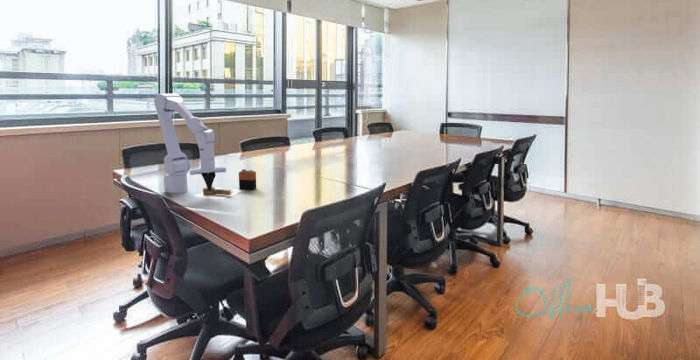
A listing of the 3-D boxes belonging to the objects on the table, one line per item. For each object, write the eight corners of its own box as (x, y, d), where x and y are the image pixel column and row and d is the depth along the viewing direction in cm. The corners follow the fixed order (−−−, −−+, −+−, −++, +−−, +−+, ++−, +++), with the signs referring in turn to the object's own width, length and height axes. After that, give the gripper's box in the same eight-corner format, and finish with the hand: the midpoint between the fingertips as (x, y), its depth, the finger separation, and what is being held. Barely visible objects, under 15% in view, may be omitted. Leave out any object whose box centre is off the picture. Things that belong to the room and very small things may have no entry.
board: (192, 198, 184) (192, 195, 184) (216, 189, 200) (216, 187, 200) (223, 201, 180) (222, 198, 180) (244, 192, 196) (244, 189, 195)
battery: (243, 189, 201) (242, 168, 199) (256, 190, 200) (256, 169, 198) (239, 191, 197) (238, 170, 195) (252, 192, 196) (251, 171, 194)
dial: (200, 194, 187) (200, 189, 186) (207, 191, 192) (207, 186, 191) (226, 197, 183) (226, 191, 182) (233, 194, 188) (233, 189, 187)
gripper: (190, 161, 173) (192, 193, 176) (226, 158, 180) (228, 190, 183) (188, 158, 179) (190, 190, 182) (223, 156, 186) (225, 186, 189)
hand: (209, 189), depth 183 cm, fingers closed
